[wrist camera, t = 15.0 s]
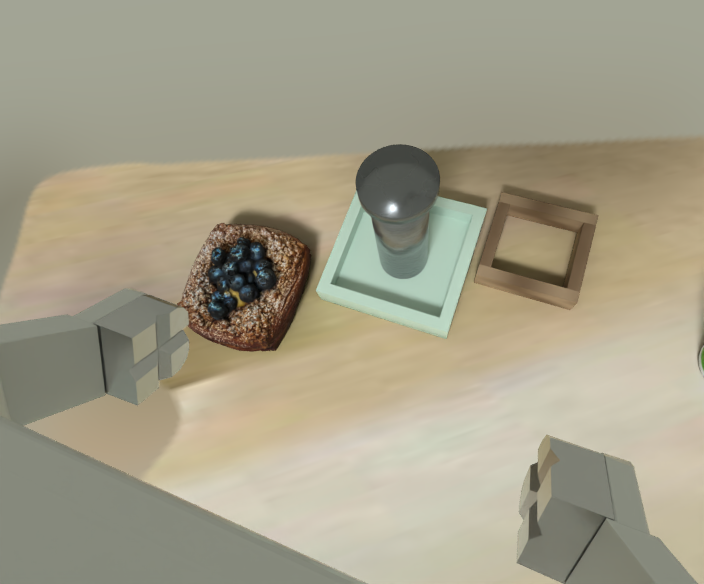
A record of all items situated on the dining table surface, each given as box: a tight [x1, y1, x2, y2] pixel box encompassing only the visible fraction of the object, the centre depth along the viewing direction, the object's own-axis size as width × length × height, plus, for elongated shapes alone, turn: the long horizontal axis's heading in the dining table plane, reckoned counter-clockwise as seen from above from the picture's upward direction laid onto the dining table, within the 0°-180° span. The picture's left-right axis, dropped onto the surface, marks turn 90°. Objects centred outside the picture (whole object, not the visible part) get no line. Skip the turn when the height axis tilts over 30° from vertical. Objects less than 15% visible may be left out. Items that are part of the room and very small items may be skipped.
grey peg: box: [356, 145, 440, 279], centre depth 38 cm, size 6×6×13 cm
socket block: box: [474, 192, 598, 310], centre depth 43 cm, size 8×8×2 cm
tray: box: [316, 190, 487, 339], centre depth 44 cm, size 12×12×2 cm
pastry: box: [177, 223, 311, 351], centre depth 44 cm, size 11×12×6 cm
